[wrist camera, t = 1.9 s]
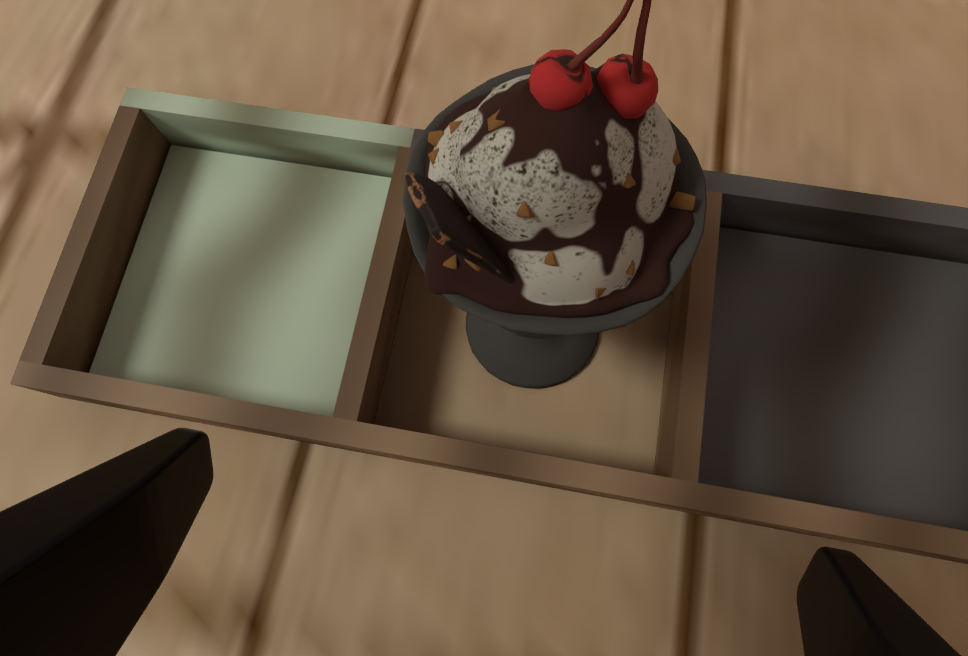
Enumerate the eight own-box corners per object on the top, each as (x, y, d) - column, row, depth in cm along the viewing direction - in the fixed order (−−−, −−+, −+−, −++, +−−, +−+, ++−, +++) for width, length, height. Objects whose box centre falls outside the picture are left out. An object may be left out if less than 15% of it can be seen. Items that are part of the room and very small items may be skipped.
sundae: (627, 248, 24) (808, -135, 10) (615, 422, 22) (818, 259, 8) (457, 230, 25) (395, -164, 10) (431, 399, 23) (313, 207, 8)
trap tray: (990, 248, 24) (1045, 219, 22) (1005, 570, 21) (1071, 578, 18) (160, 126, 26) (126, 87, 24) (60, 397, 23) (10, 383, 21)
